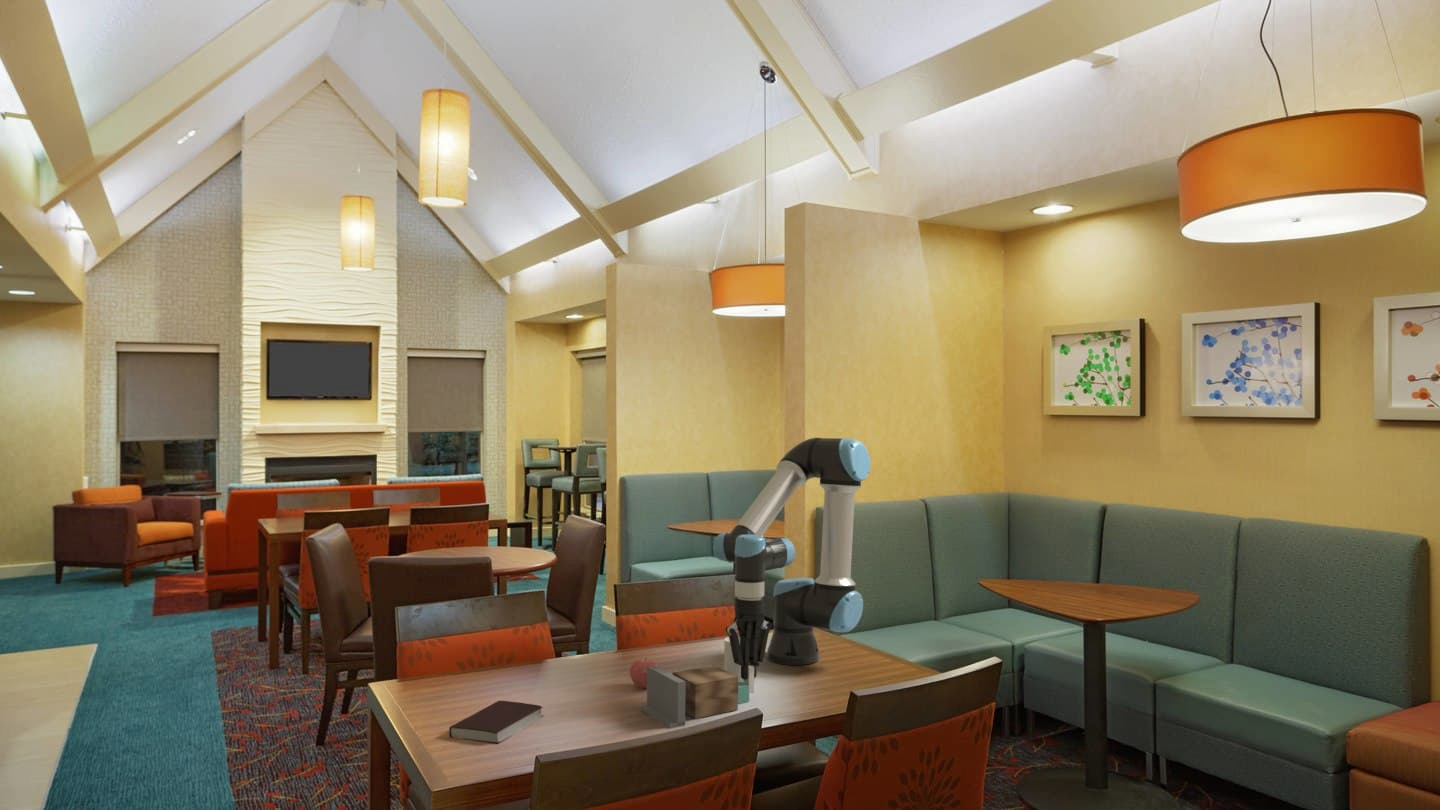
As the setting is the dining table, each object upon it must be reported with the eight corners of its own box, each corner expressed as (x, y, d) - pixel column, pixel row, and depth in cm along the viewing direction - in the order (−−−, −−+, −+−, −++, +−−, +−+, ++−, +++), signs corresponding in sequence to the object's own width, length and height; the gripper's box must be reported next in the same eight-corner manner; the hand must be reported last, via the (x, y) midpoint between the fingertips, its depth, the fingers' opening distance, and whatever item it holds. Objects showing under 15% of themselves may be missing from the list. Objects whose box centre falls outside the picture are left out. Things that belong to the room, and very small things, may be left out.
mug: (753, 687, 235) (754, 641, 235) (730, 690, 232) (730, 643, 232) (737, 676, 244) (737, 632, 244) (714, 679, 241) (715, 634, 242)
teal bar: (740, 697, 227) (740, 681, 227) (749, 701, 223) (749, 685, 223) (692, 706, 219) (692, 690, 219) (701, 711, 216) (701, 694, 216)
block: (713, 697, 226) (714, 665, 226) (737, 709, 217) (738, 676, 217) (672, 705, 220) (672, 672, 220) (695, 718, 210) (695, 684, 210)
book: (448, 739, 198) (448, 724, 198) (498, 711, 216) (498, 697, 216) (497, 747, 193) (497, 732, 193) (543, 718, 212) (544, 704, 212)
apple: (663, 685, 236) (664, 654, 236) (650, 693, 229) (650, 662, 229) (639, 681, 239) (639, 651, 239) (624, 689, 232) (625, 658, 232)
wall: (654, 706, 219) (654, 665, 219) (685, 724, 206) (685, 681, 206) (639, 709, 217) (639, 667, 217) (669, 728, 204) (670, 684, 204)
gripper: (761, 592, 232) (760, 683, 232) (719, 597, 225) (718, 691, 225) (779, 597, 225) (778, 691, 225) (736, 602, 218) (735, 699, 218)
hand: (748, 691), depth 225 cm, fingers closed
